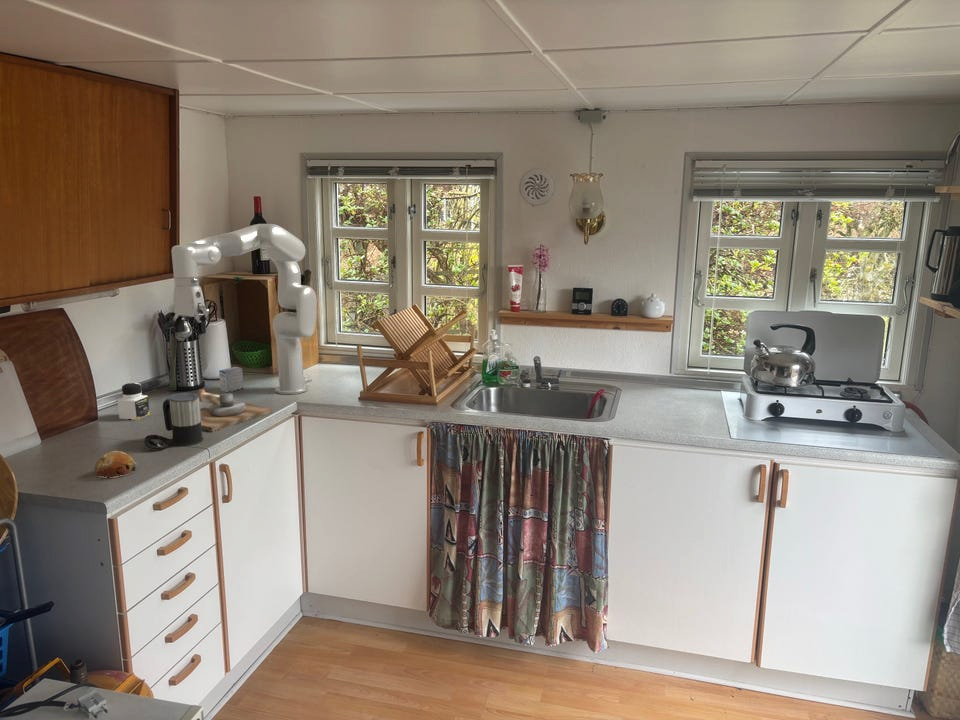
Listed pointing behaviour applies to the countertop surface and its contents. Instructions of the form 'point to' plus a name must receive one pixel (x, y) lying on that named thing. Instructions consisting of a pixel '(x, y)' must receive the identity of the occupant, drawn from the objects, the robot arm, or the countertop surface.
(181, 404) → the milk frother
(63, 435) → the countertop surface
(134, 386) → the medicine bottle
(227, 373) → the medicine box
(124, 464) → the bread roll
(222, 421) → the board
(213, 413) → the grey disc with handle
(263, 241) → the robot arm
